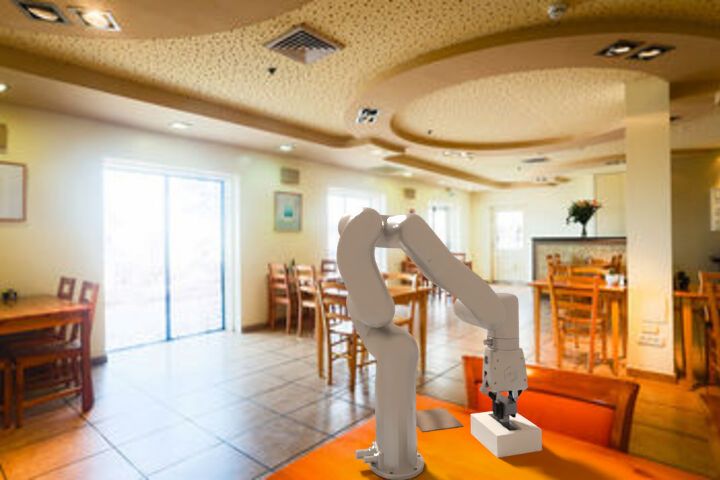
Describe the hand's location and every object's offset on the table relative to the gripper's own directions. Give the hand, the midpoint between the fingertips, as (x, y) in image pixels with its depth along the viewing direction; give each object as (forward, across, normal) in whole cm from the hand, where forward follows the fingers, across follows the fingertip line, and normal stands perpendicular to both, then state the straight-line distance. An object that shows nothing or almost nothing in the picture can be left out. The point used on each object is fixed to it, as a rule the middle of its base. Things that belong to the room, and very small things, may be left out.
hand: (504, 415), depth 98 cm
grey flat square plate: (+8, -12, +16) cm, 21 cm away
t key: (+7, 0, 0) cm, 7 cm away
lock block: (+8, 0, 0) cm, 8 cm away
